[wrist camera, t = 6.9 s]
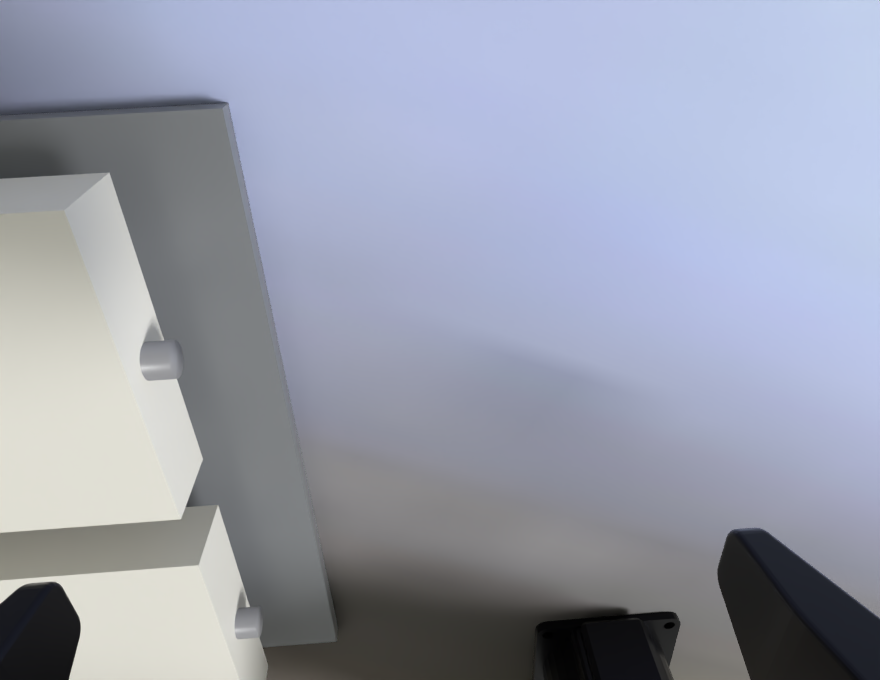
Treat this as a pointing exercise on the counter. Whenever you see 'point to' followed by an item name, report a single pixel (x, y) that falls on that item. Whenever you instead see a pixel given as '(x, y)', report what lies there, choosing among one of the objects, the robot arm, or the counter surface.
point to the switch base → (206, 331)
